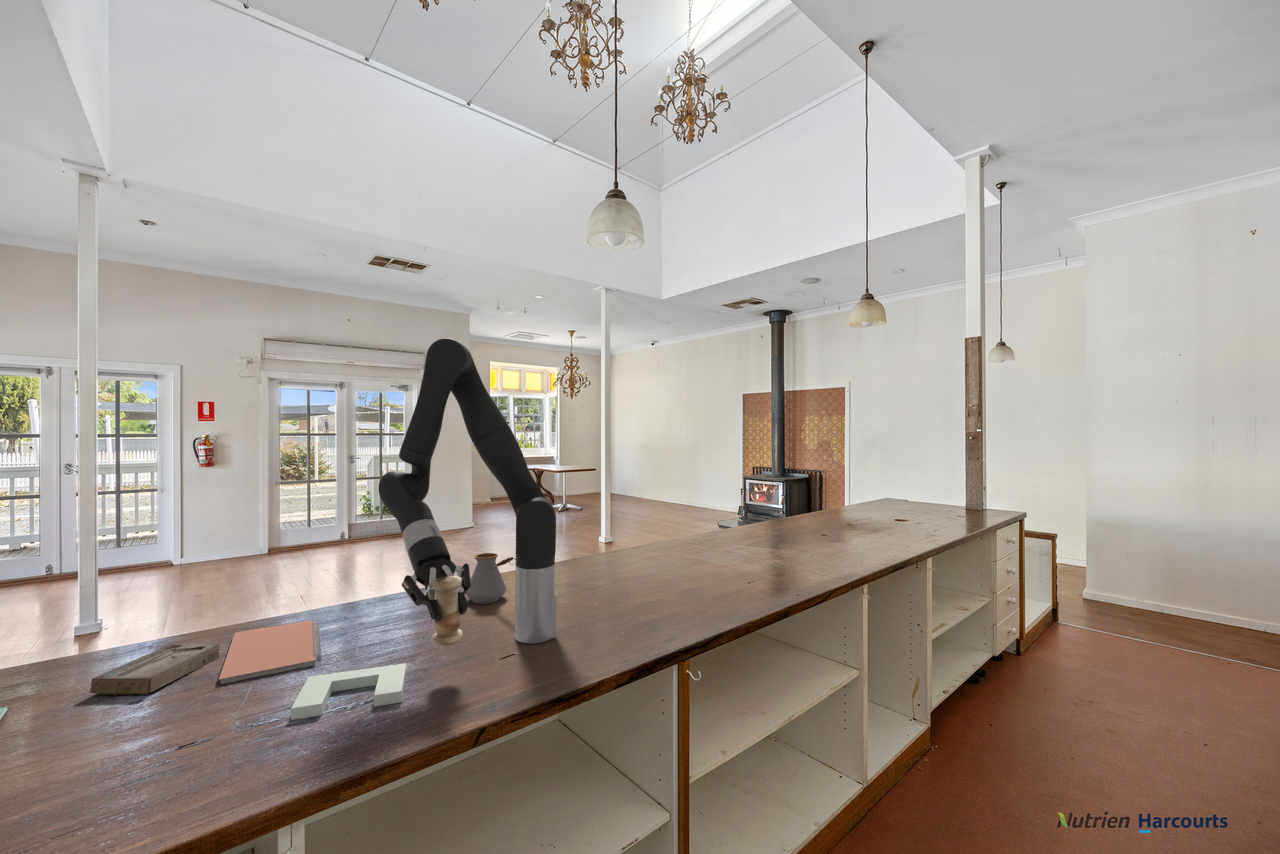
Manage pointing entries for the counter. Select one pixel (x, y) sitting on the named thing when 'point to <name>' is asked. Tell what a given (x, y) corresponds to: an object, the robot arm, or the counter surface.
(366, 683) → the notched board
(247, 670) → the notebook
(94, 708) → the counter surface
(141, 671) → the box
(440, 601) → the bobbin
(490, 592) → the coffee pot
